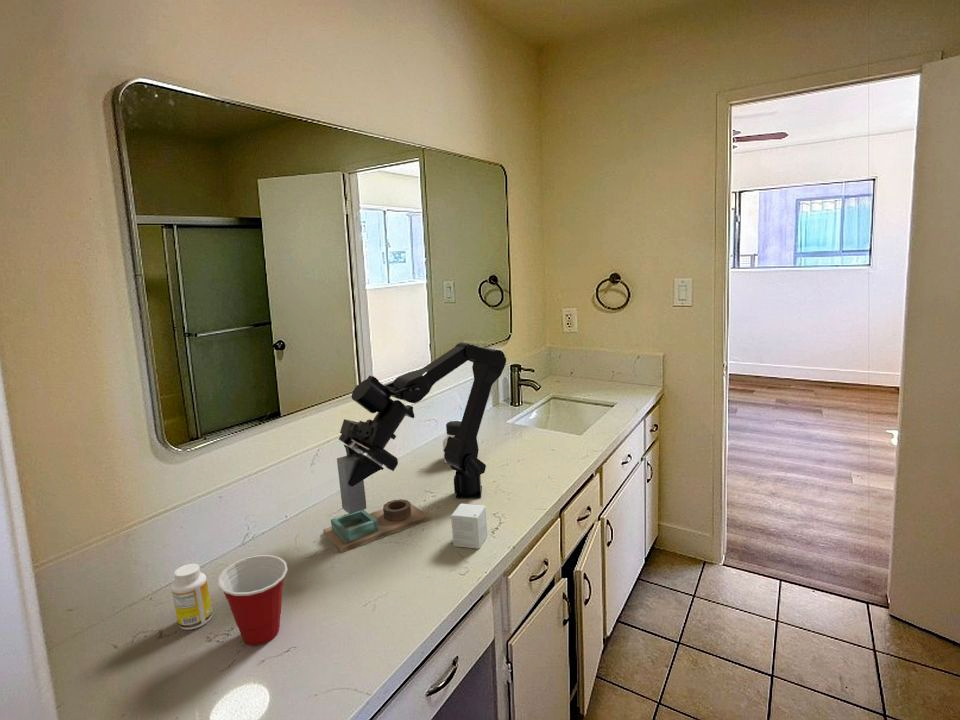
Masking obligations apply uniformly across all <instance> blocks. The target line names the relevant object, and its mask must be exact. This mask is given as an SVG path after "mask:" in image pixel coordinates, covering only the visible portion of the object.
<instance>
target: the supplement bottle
mask: <svg viewBox="0 0 960 720" xmlns="http://www.w3.org/2000/svg"><path fill="white" fill-rule="evenodd" d="M209 590H210V589H209V585H208V579H207V576H206V574H205V573H203V572H201V568H200V565H199V564H198V563H188V564H185V565H182V566H180V567H178V568H177V569H176V570H175V571H174V581H173V583H172V584H171V594H172V598H173V603H174V609H175V615H176V619H177V625H178V627H179V628H181V630H186V631H190V630H195V629H198V628H200V627H203V626H205V625H206V624H207V623H209V621H211V618H212V617H213V608H212V602H211V596H210V591H209Z"/></svg>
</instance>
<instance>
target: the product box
mask: <svg viewBox="0 0 960 720" xmlns="http://www.w3.org/2000/svg"><path fill="white" fill-rule="evenodd" d="M486 508H487V507H486V506H485V505H482V504H481V505H479V504H470V503H469V504H467V503H460V504H459V505H458V506H457V507H456V509H455V510H454V511H453V513H452V514H451V516H450V518H451V530H452V541H453V547H460V548H469V549H478V550H479V549H480V548H481V547H482V546H483V544H484V541H486V538H487V536H488V523H487V520H488V519H487V509H486Z"/></svg>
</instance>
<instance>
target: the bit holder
mask: <svg viewBox="0 0 960 720" xmlns="http://www.w3.org/2000/svg"><path fill="white" fill-rule="evenodd" d="M429 520H430V515H429V514H428V513H426V512H424V511H423V510H421V509H419V507H417V506H415V505H413V504H412V503H411V502H410V501H409V500H407V499H402V498H401V499H400V498H399V499H393V500H390V501H387V502H385V504H383V508H382V509H381V508H380V509H378V510H377V511H373V512H370V513H369V512H367V511H366V509H364V510H361V511H358V512H356V513H353V514H349V513H346V514H344V515H340V516H337V517H335V518H331V519H330V524H331V525H330V526H329V527H326V528H323V534H324V535H325V536H326V537H327V538H328V539H329V540H330V541H331V542H332V543H333V544H334V545H335V547H337V549H339V550H340V552H341V553H344V552H346V551H349V550H352V549H354V548H357V547H359V546H362V545H365V544H368V543H370V542H373V541H376V540H378V539H381V538H384V537H386V535H387V536H389V535H392V534H395V533H397V532H400V531H403V530H406V529H408V528H411V527H413V526H416V525H419V524H421V523H425V522H426V521H429ZM405 528H406V529H405Z"/></svg>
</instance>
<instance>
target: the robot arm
mask: <svg viewBox="0 0 960 720" xmlns="http://www.w3.org/2000/svg"><path fill="white" fill-rule="evenodd" d="M468 361H469V362H472V367H471V368H472V373H473V374H472V375H473V381H472V382H473V383H472V386H471V388H470V391H469V392H470V393H469V396H468V398H467V402H466V406H465V407H464V412H463V416H462V418H461V421H462V422H461V425H460V428H459V431H458V433H457V434H456V435H455V436H454V437H450V436H449V437H448V439H447V444H446V447H445V449H444V450H443V453H444V452H445V455H444V454H443V459H444V458H445V460H446V462H447V463H446V464H448V465H449V467H450V468H451V470H454V471H455V475H454V477H453V487H454V488H453V489H454V494H455V499H479V498H481V497H482V490H483V486H482V481H481V477H482V476H481V475H483V474H485V473H486V468H487V465H486V464H485V463H484V462H483V461H481V459H480V458H478V456H479V443H478V439H477V438H478V434H479V431H480V427H481V423H482V422H483V416H484V413H485V410H486V408H487V403H488V400H489V397H490V393H491V390H492V386H493V385H494V384H495V382H497V380H499V378H500V377H501V376H502V373H503V371H504V369H505V367H506V364H507V357H506V355H505V353H504V352H503V351H502V350H501V349H500V350H499V349H493V348H490V347H480V346H477V345H474V344H473V343H468V342H459V343H457V344H456V345H455V346H454V347H452V348H451V349H449V350H448V351H446V352H445V353H443V354H442V355H440V356H439V357H437V358H436V359H434V360H433V361H431V362H430V363H429V364H427V365H425V366H424V367H421V368H419V369H416V370H413V371H409V372H407V373H406V372H405V374H401V375H400V376H398V377H396V378H395V379H394V381H392V382H390V383H387V384H385V385H384V384H383V383H381V382H380V381H379V379H378V378H377V377H376V376H374V375H368V377H367V378H366V379H364V380H362V381H361V382H359V384H356V386H355V387H354V389H353V391H352V392H351V399H352V400H353V402H355V403H357V404H358V405H359V406H361V407H362V408H363V409H365V411H367V412H369V413H371V414H376V415H375V416H374V418H373V419H370V418H369V419H367V420H366V421H363V420H359V421H354V420H349V419H343V422H342V425H341V428H340V431H339V433H340V434H341V435H340V436H339V438H338V440H339V441H340V442H342V443H344V444H343V447H344V448H345V452H346V453H345V454H346V456H347V455H351V454H355V455H356V456H358V457H360V463H359V465H358V466H357V468H356V470H355V472H354V474H353V476H352V477H351V479H350V482H349V485H350V486H351V487H353V486H354V485H356V484H358V483H359V482H361V481H362V480H364V481H365V479H367V478H368V477H370V476H372V475H375V474H376V473H377V472H379V471H381V470H382V471H383V470H385V468H387V469H388V470H390V471H392V472H394V471H395V469H396V468H397V467H398V464H399V459H398V458H397V457H396V456H395V455H393V454H392V453H390V452H389V451H387V449H385V448H386V446H387V445H388V443H389V441H390V440H391V439H392V440H395V439H396V438H397V435H396V434H395V433H396V431H397V429H398V428H399V426H401V425H400V424H401V423H402V422H403V420H404V418H405V417H407V418H410V419H415V413H414V412H415V411H414V407H413V406H412V405H409V404H410V403H411V404H418V402H421V401H422V400H423V399H424V398H425V397H426V396H427V395H428V394H429V393H430V391H431V390H432V387H433V386H434V385H435V384H436V383H437V382H439V381H440V380H441V379H443V378H445V377H446V376H447V375H449V374H450V373H452V372H453V371H455V370H456V369H458V368H459V367H460V366H462V365H463V364H465V363H466V362H468ZM392 397H393V398H395V400H393V399H392ZM400 400H401V401H400ZM402 401H404V402H406V403H409V404H408V405H406V404H404V403H403V402H402ZM365 454H366V455H365ZM383 466H385V468H384V467H383Z"/></svg>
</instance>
